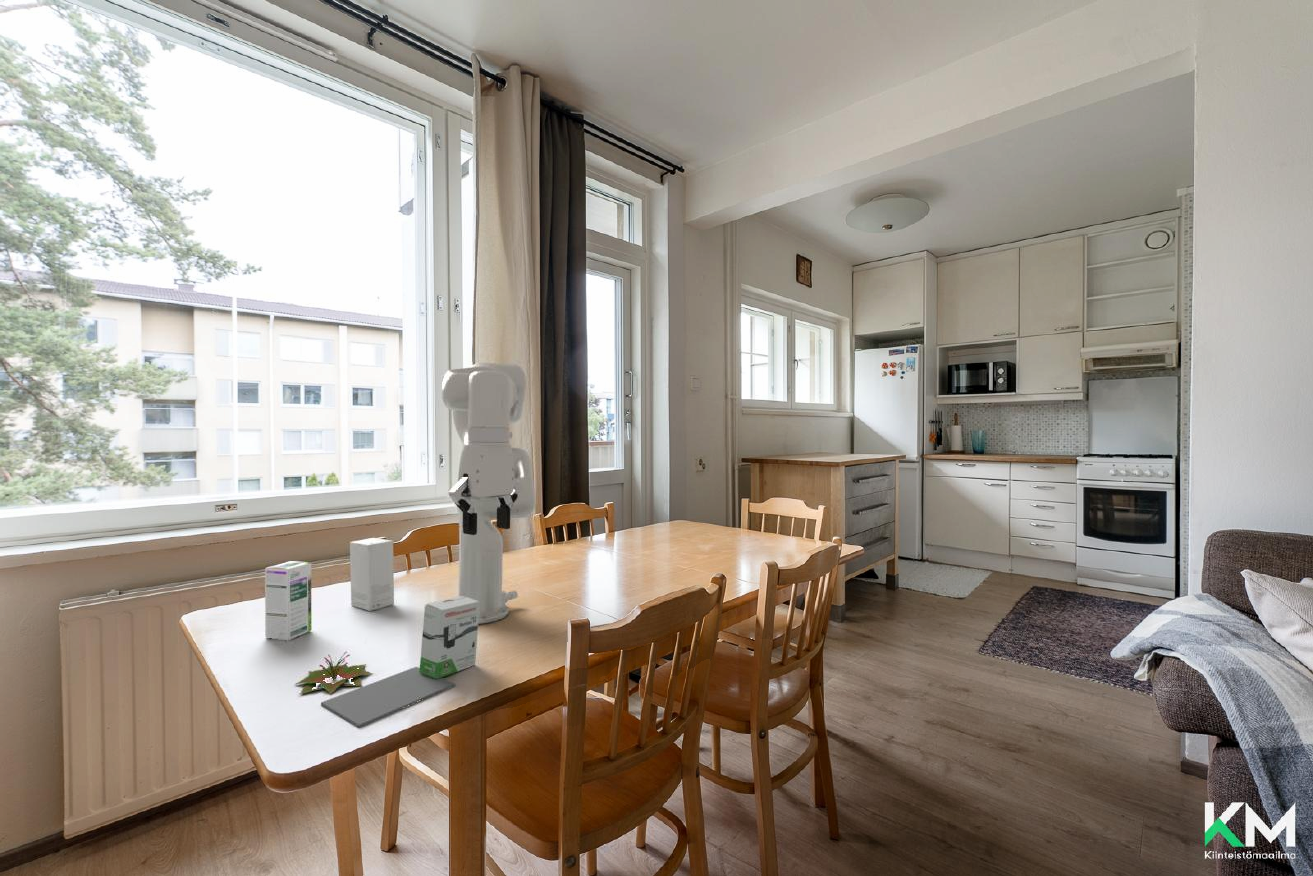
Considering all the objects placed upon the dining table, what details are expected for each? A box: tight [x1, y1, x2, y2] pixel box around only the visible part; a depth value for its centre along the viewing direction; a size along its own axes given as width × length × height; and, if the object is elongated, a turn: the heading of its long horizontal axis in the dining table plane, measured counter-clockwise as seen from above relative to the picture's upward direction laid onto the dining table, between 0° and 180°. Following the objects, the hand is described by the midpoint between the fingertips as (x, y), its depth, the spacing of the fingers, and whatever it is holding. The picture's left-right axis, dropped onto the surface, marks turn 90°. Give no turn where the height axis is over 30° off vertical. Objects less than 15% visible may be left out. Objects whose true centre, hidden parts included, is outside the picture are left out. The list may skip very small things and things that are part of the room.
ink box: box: [419, 595, 480, 679], centre depth 98 cm, size 9×5×12 cm, turn 148°
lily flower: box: [294, 651, 374, 695], centre depth 93 cm, size 12×12×5 cm
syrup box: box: [264, 560, 312, 642], centre depth 113 cm, size 6×6×14 cm
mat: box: [320, 666, 456, 728], centre depth 89 cm, size 16×11×1 cm
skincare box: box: [349, 537, 395, 612], centre depth 132 cm, size 8×7×16 cm
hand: (487, 530), depth 104 cm, fingers open, 7 cm apart
